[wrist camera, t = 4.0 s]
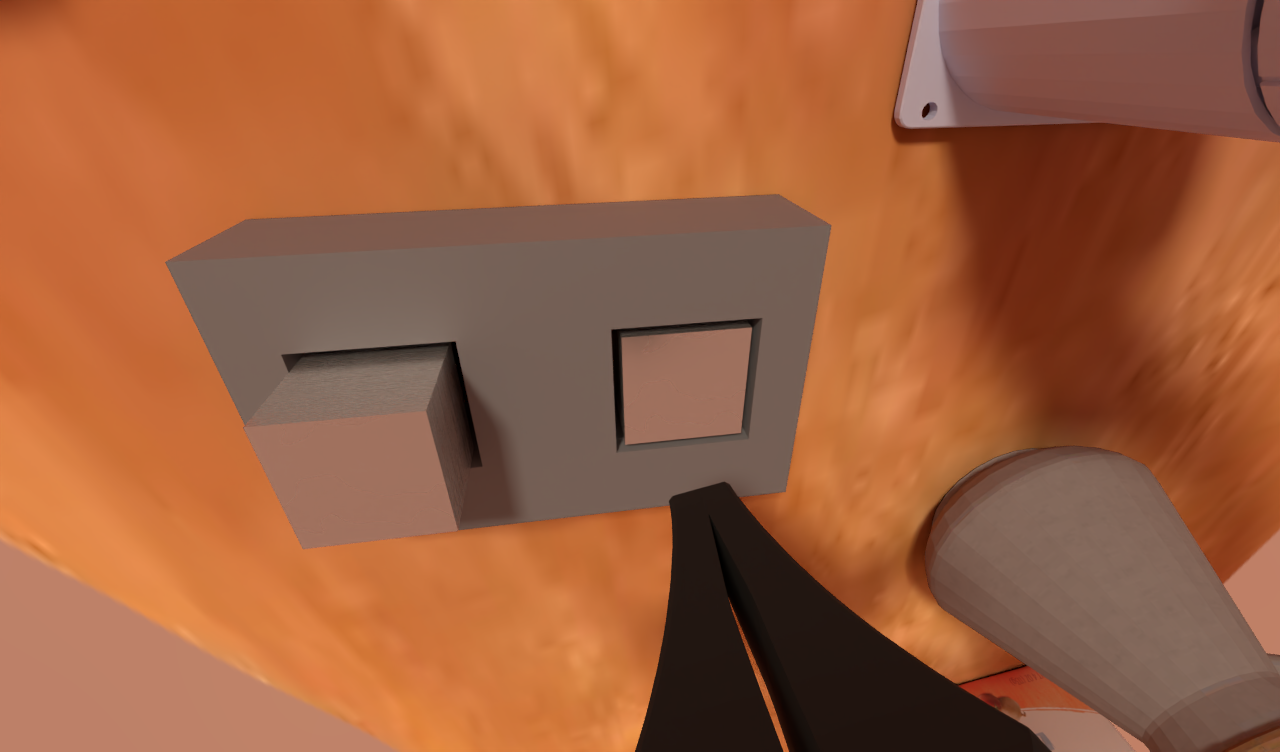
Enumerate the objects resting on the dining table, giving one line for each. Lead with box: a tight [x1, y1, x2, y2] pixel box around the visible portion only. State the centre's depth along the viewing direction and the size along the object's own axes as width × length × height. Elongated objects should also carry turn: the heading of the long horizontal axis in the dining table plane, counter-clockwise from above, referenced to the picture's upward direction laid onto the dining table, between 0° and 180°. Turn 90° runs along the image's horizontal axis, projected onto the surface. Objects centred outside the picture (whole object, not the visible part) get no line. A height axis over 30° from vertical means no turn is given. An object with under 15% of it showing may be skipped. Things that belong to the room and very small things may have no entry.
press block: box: [165, 194, 831, 530], centre depth 18 cm, size 17×10×4 cm, turn 91°
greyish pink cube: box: [243, 342, 474, 549], centre depth 15 cm, size 4×4×4 cm
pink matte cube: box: [611, 319, 752, 445], centre depth 18 cm, size 4×4×4 cm
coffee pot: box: [925, 446, 1280, 752], centre depth 22 cm, size 21×12×15 cm, turn 101°
